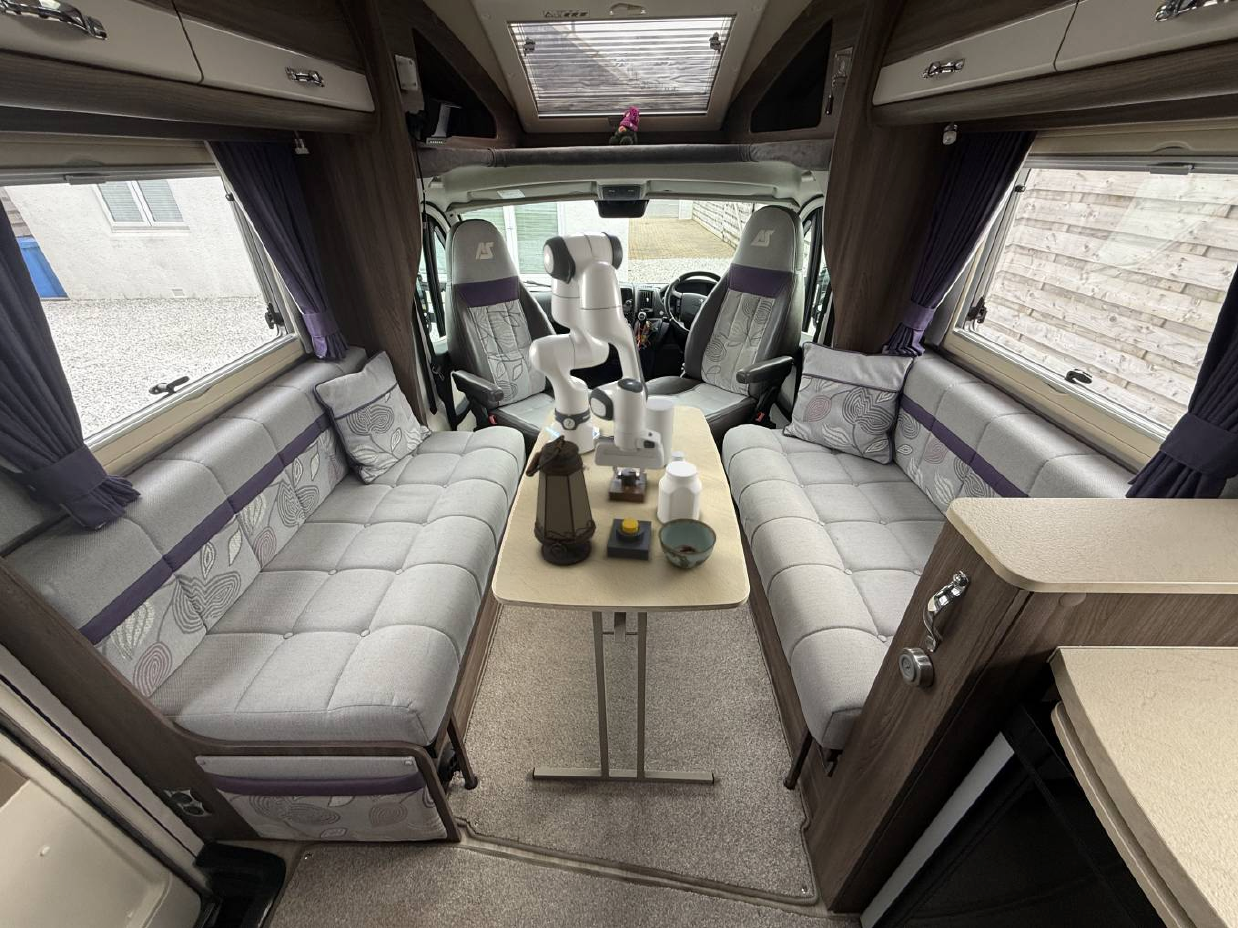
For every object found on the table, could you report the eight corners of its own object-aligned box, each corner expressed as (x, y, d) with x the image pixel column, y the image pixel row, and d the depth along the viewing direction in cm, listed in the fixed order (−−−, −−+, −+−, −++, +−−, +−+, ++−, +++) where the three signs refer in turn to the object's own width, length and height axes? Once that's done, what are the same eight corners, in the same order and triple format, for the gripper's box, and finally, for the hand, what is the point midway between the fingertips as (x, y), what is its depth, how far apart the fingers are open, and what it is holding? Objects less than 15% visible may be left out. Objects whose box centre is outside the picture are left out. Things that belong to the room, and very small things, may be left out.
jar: (658, 525, 134) (661, 477, 126) (656, 505, 142) (658, 459, 135) (701, 525, 134) (706, 477, 126) (696, 505, 142) (700, 459, 135)
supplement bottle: (683, 487, 151) (686, 458, 146) (666, 485, 152) (667, 457, 147) (685, 478, 155) (687, 450, 151) (668, 476, 156) (669, 448, 152)
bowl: (689, 537, 129) (691, 511, 126) (725, 566, 120) (728, 539, 116) (646, 555, 123) (647, 529, 119) (680, 587, 113) (682, 560, 109)
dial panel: (614, 479, 155) (614, 470, 153) (646, 481, 154) (646, 472, 152) (609, 500, 144) (609, 491, 143) (643, 503, 143) (643, 493, 142)
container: (676, 459, 166) (680, 403, 157) (659, 470, 160) (662, 412, 150) (652, 450, 172) (655, 395, 162) (634, 460, 165) (636, 404, 156)
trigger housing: (613, 528, 133) (613, 512, 130) (651, 530, 132) (651, 515, 129) (607, 557, 122) (607, 540, 120) (647, 560, 121) (648, 544, 119)
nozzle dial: (620, 485, 146) (620, 474, 144) (622, 477, 150) (622, 466, 148) (635, 486, 145) (635, 475, 143) (636, 478, 149) (637, 467, 147)
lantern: (591, 576, 116) (587, 464, 102) (527, 571, 118) (514, 460, 103) (601, 529, 132) (599, 426, 118) (545, 525, 134) (536, 423, 119)
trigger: (623, 523, 127) (623, 518, 126) (638, 524, 126) (638, 519, 125) (621, 533, 123) (621, 527, 122) (637, 534, 123) (637, 528, 122)
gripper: (591, 439, 139) (592, 481, 145) (664, 444, 136) (662, 486, 143) (595, 429, 144) (595, 471, 151) (665, 434, 142) (663, 475, 149)
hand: (628, 478), depth 147 cm, fingers closed on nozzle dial, 4 cm apart
